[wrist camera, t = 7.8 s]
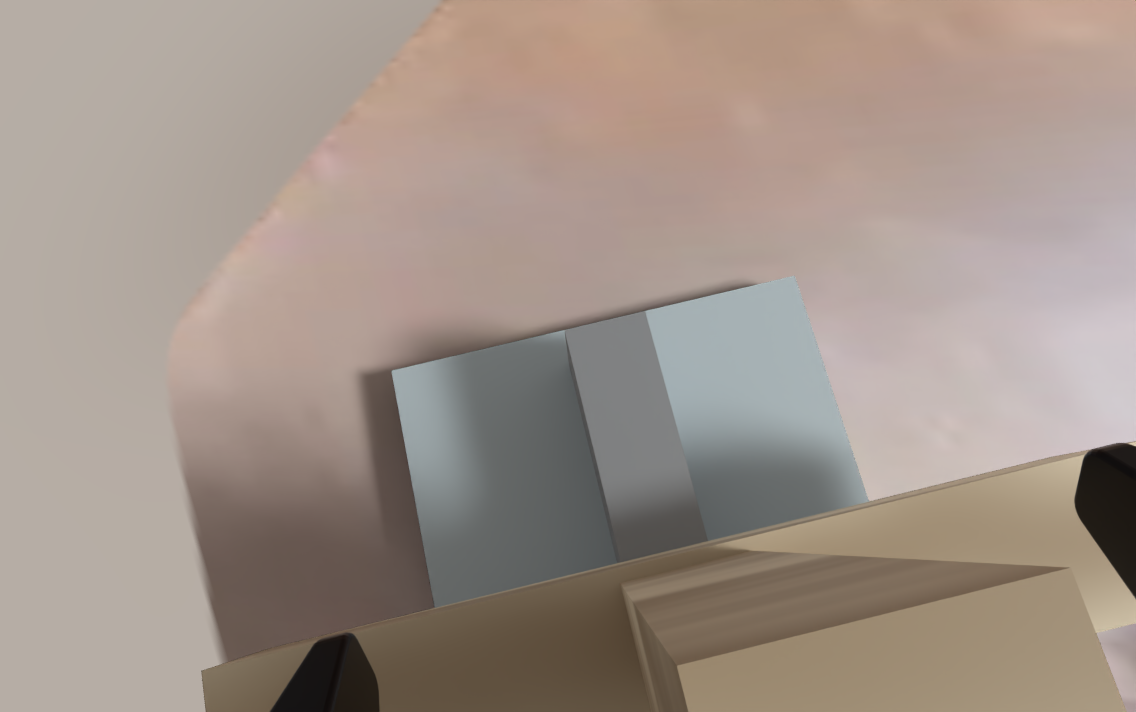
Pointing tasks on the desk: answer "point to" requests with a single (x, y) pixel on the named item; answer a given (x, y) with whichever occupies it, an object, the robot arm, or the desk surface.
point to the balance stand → (622, 440)
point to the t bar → (778, 619)
